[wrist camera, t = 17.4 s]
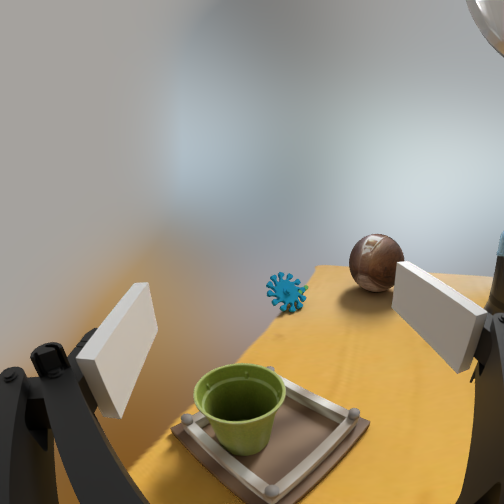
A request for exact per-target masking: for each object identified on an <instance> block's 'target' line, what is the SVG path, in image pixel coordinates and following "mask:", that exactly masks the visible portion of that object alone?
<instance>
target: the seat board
mask: <svg viewBox="0 0 504 504" xmlns="http://www.w3.org/2000/svg"><path fill="white" fill-rule="evenodd" d="M266 368H268V369H270V370H272V371H274V368H273V367H271V366H269V367H266ZM279 376H280V375H279ZM280 377H281V376H280ZM281 379H282V380H283V382H284V384H285V388H286V395H285V400H284V402H283V404H282V405H281V407H280V408H279V409H278V411H277V412H276V414H275V418H274V422H273V426H272V431H271V435H270V439H269V442H268V444H267V445H266V446H265V447H264V448H263V449H262V450H261V451H260V452H258V453H256V454H253V455H248V456H239V455H234V454H232V453H230V452H229V451H227V450H226V449H224V448H223V447H222V446H221V444H220V442H219V440H218V438H217V436H216V434H215V432H214V430H213V428H212V426H211V424H210V422H209V420H208V419H207V418H206V417H205V416H204V415H203V414H202V413H201V412H200V411H199V412H198V413H196V414H194V415H190V414H183V415H182V416H181V420H182V421H181V422H182V423H180V424H178V425H176V426H174V427H172V428H171V431H172V433H173V434H174V435H175V436H176V438H177V439H178V440H179V441H180V442H181V443H182V444H183V445H184V446H185V447H186V448H187V449H188V450H189V451H190V453H191V454H192V455H193V456H194V457H195V458H196V459H197V460H198V461H199V462H200V463H201V464H202V465H203V466H204V467H205V468H206V469H208V470H209V471H210V472H211V473H212V474H213V475H214V476H215V477H216V478H217V479H218V480H219V481H220V482H221V483H223V484H224V485H225V486H226V487H227V488H228V489H229V490H231V491H232V492H233V493H234V494H235V495H236V496H238V497H239V498H240V499H241V500H242V501H244V502H245V503H246V504H296V503H297V502H298V501H299V500H300V499H301V498H303V497H304V496H305V495H306V494H307V493H308V492H309V491H310V490H311V489H312V488H313V487H314V486H315V485H317V484H318V483H319V482H320V481H321V480H322V479H323V478H324V477H325V476H326V475H327V474H328V473H329V472H330V470H331V469H332V468H333V467H334V466H335V465H336V464H337V463H338V462H339V461H340V460H341V459H342V458H343V457H344V455H345V454H346V453H347V452H348V451H349V450H350V449H351V447H352V446H353V445H354V444H355V443H356V442H357V440H358V439H359V438H360V437H361V436H362V434H363V433H364V432H365V431H366V429H367V428H368V427H369V425H370V421H368V420H366V419H363V418H361V417H359V416H360V415H359V414H360V411H359V409H357V408H352V409H350V410H347V409H345V408H343V407H341V406H339V405H336V404H334V403H332V402H330V401H328V400H326V399H324V398H322V397H320V396H318V395H316V394H314V393H312V392H310V391H308V390H306V389H304V388H302V387H300V386H298V385H296V384H294V383H293V382H291V381H289V380H287V379H285V378H283V377H281Z"/></svg>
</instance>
